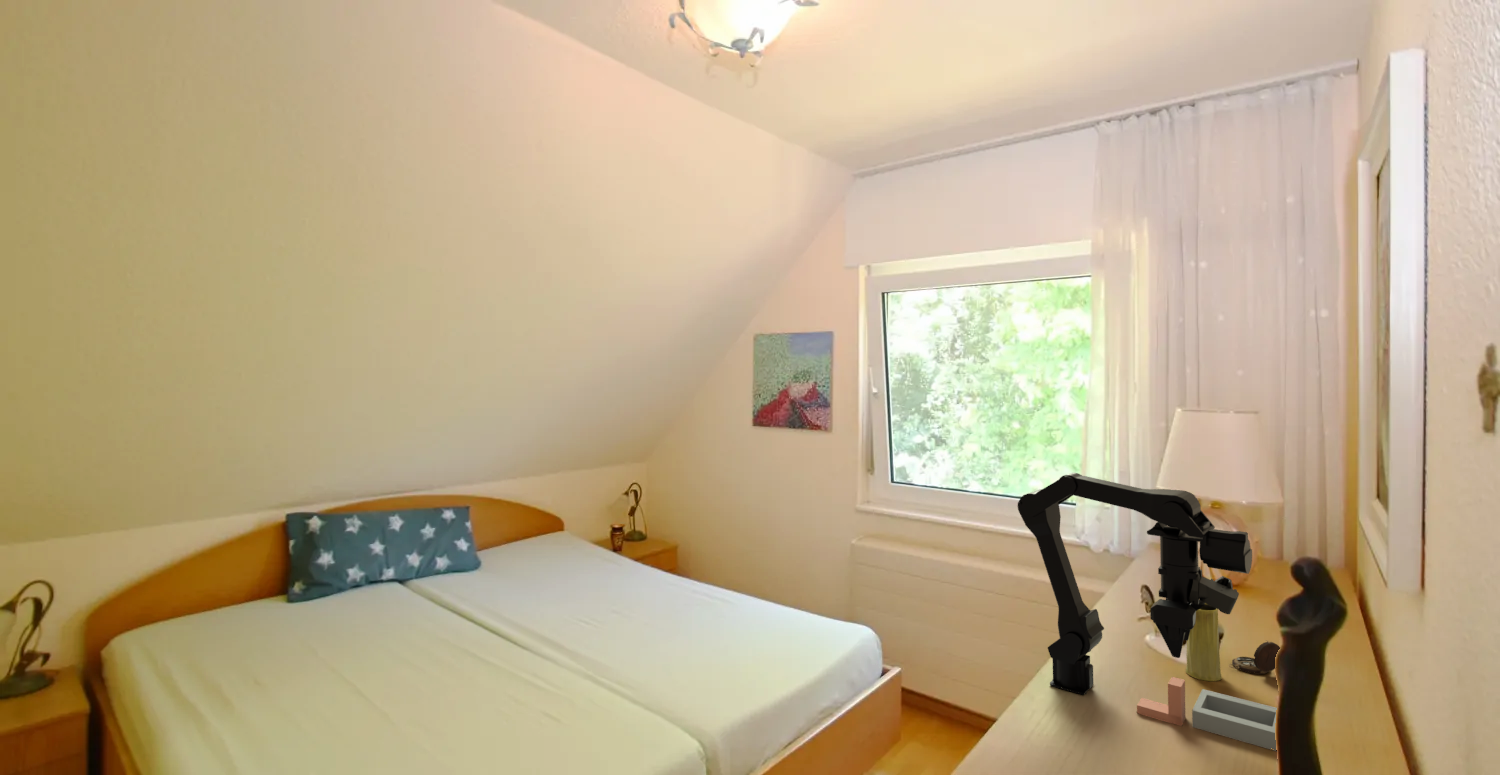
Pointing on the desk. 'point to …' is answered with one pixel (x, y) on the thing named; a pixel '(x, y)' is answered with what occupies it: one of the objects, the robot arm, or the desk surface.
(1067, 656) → the robot arm
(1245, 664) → the compass
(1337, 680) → the desk surface
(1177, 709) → the bracket
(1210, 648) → the vase
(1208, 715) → the well block
